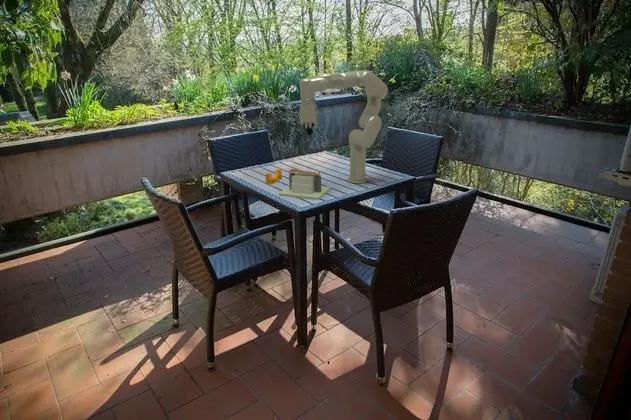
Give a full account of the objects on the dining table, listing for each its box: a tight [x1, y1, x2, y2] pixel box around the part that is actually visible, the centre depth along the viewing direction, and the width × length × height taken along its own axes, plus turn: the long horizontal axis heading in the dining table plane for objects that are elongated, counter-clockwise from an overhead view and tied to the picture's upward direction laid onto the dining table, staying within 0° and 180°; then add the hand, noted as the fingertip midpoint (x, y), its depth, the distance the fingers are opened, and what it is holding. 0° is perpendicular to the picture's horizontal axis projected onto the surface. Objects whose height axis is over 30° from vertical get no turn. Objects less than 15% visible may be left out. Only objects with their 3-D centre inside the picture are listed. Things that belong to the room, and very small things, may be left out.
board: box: [278, 172, 332, 200], centre depth 241 cm, size 24×20×10 cm
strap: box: [288, 168, 321, 176], centre depth 238 cm, size 18×5×1 cm, turn 68°
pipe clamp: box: [265, 168, 283, 185], centre depth 263 cm, size 12×4×6 cm, turn 145°
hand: (309, 134), depth 239 cm, fingers closed
